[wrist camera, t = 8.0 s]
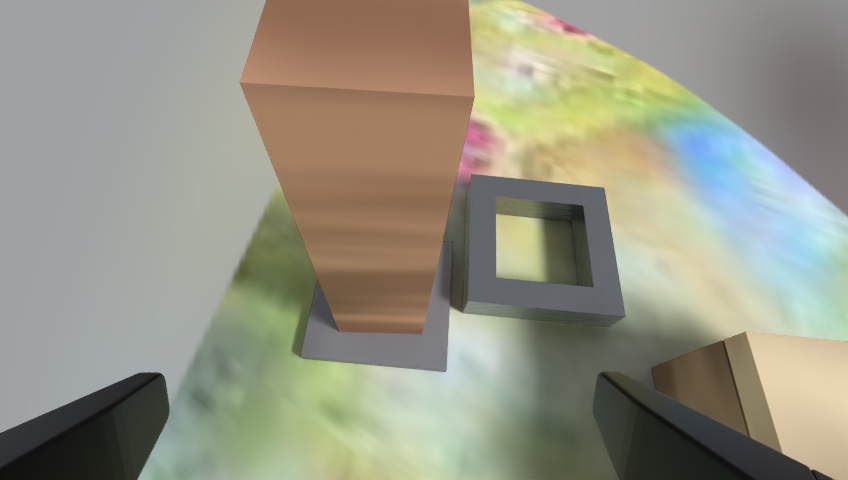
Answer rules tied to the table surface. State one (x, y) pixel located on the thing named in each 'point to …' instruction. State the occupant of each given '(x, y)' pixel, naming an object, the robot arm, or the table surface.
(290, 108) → the brown rectangular block
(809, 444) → the lid
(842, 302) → the table surface
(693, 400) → the tan boxy piece
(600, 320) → the socket
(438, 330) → the felt pad
